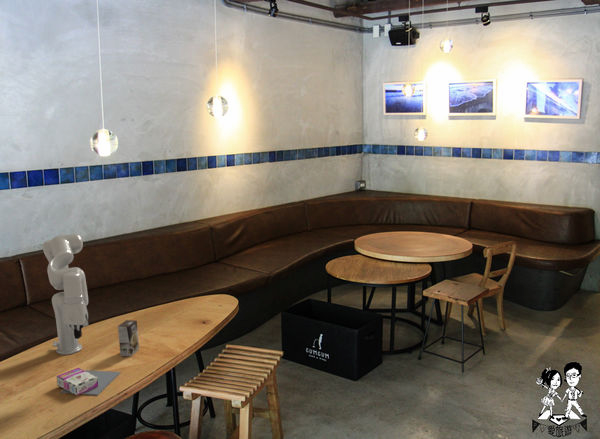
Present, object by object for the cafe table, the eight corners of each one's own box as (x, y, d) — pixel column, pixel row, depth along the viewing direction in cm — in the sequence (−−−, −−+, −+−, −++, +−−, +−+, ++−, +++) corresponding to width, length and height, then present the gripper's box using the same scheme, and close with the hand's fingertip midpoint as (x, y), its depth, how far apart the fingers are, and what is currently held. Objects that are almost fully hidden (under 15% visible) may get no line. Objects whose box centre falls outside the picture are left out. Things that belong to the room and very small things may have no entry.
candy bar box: (57, 386, 270) (76, 396, 259) (55, 375, 269) (74, 385, 258) (79, 377, 278) (98, 386, 268) (78, 367, 277) (97, 376, 267)
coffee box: (131, 356, 300) (128, 326, 297) (120, 356, 302) (117, 326, 298) (139, 349, 309) (137, 320, 306) (128, 348, 310) (125, 319, 307)
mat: (60, 393, 264) (60, 392, 264) (85, 371, 285) (85, 370, 285) (97, 395, 261) (97, 394, 261) (120, 373, 282) (120, 371, 282)
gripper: (54, 301, 264) (58, 340, 268) (85, 303, 261) (89, 341, 265) (63, 296, 271) (67, 333, 275) (93, 297, 268) (97, 335, 272)
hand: (78, 337), depth 270 cm, fingers closed
